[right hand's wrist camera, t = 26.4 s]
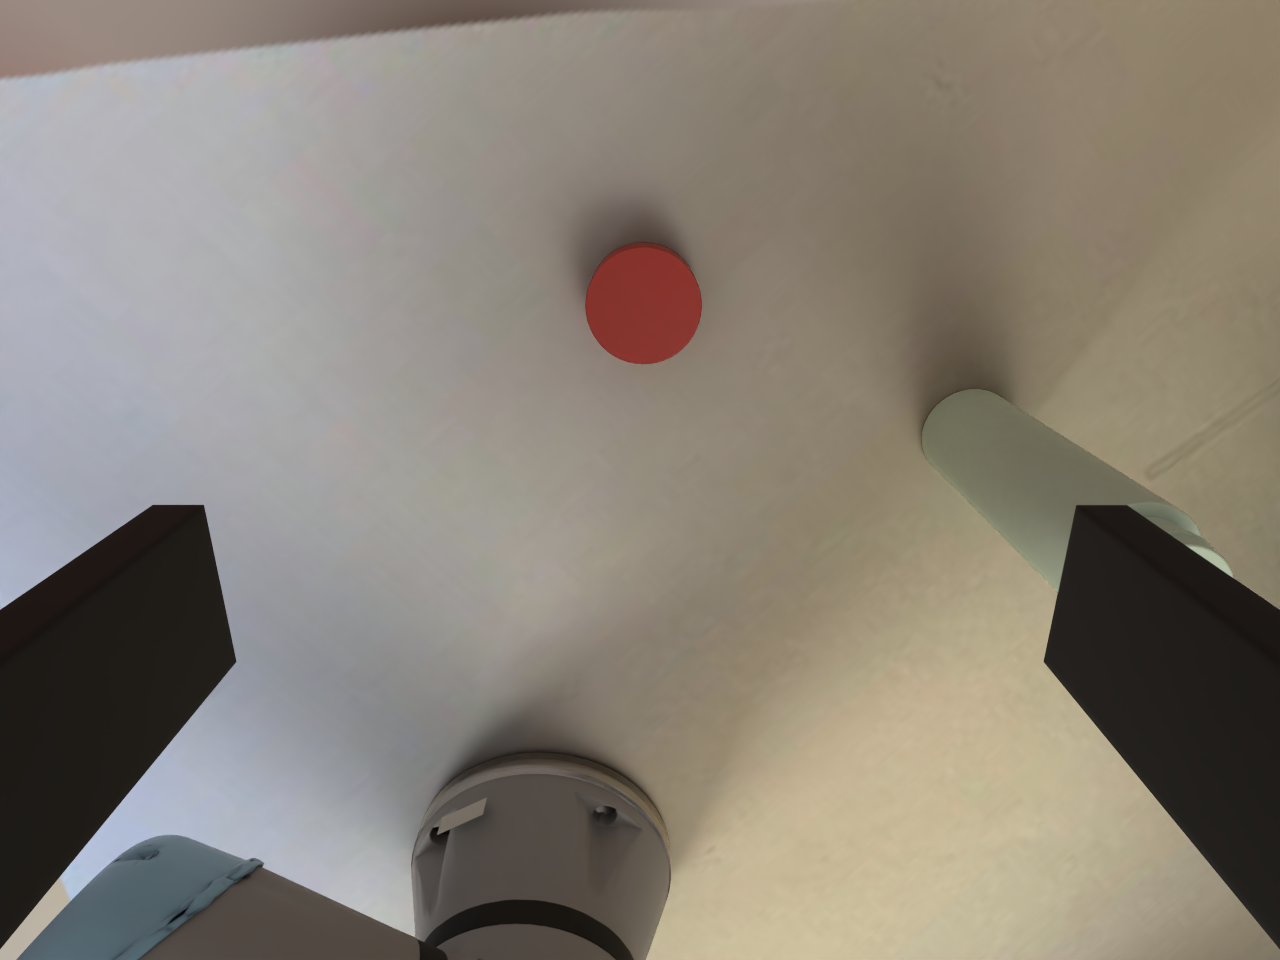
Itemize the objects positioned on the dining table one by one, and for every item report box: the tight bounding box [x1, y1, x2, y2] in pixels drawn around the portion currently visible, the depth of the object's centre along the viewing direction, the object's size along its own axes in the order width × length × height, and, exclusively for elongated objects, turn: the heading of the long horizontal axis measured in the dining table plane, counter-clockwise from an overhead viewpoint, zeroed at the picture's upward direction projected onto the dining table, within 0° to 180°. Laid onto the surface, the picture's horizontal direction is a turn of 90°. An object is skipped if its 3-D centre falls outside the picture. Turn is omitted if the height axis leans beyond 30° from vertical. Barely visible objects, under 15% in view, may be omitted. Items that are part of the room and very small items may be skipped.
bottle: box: [922, 389, 1234, 593], centre depth 32 cm, size 5×5×17 cm
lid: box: [586, 242, 702, 364], centre depth 37 cm, size 5×5×2 cm
